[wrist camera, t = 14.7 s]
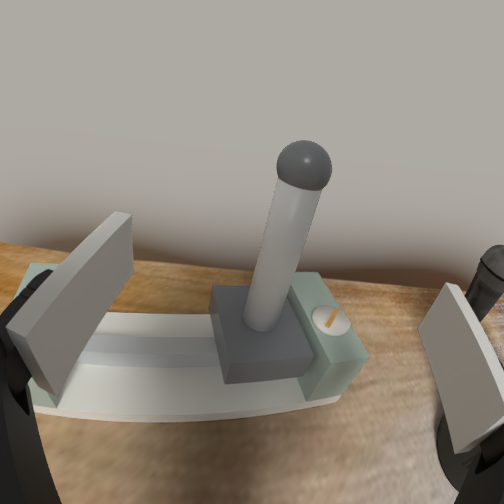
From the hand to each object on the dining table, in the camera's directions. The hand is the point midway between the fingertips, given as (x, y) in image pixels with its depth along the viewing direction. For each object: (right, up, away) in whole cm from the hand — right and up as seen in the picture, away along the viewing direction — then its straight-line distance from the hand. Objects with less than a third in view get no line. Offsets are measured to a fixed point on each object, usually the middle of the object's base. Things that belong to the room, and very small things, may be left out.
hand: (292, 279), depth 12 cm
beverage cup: (+35, -12, +31) cm, 48 cm away
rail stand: (-9, -10, +16) cm, 21 cm away
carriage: (-1, -7, +16) cm, 18 cm away
